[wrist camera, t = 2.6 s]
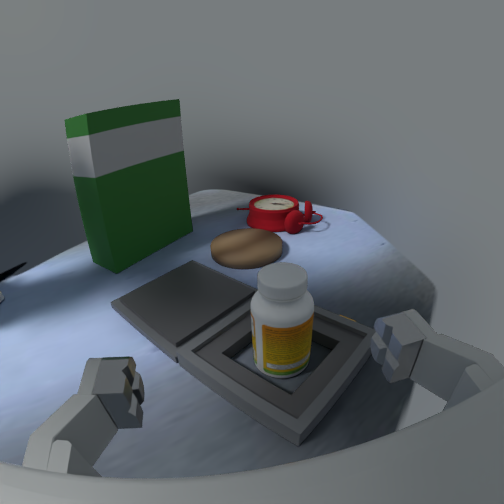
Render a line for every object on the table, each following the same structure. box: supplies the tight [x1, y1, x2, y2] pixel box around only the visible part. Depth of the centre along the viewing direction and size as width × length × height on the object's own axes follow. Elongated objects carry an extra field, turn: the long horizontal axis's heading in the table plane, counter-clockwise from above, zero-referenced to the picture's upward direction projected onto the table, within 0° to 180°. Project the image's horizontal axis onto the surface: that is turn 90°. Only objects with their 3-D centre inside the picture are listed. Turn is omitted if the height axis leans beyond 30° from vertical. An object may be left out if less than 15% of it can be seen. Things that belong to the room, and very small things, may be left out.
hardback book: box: [65, 99, 193, 274], centre depth 49 cm, size 18×7×24 cm, turn 147°
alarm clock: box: [237, 195, 323, 234], centre depth 59 cm, size 10×6×15 cm
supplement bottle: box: [251, 262, 314, 378], centre depth 28 cm, size 5×5×10 cm
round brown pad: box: [211, 228, 282, 269], centre depth 50 cm, size 11×11×2 cm
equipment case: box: [111, 260, 376, 446], centre depth 34 cm, size 28×15×2 cm, turn 49°
